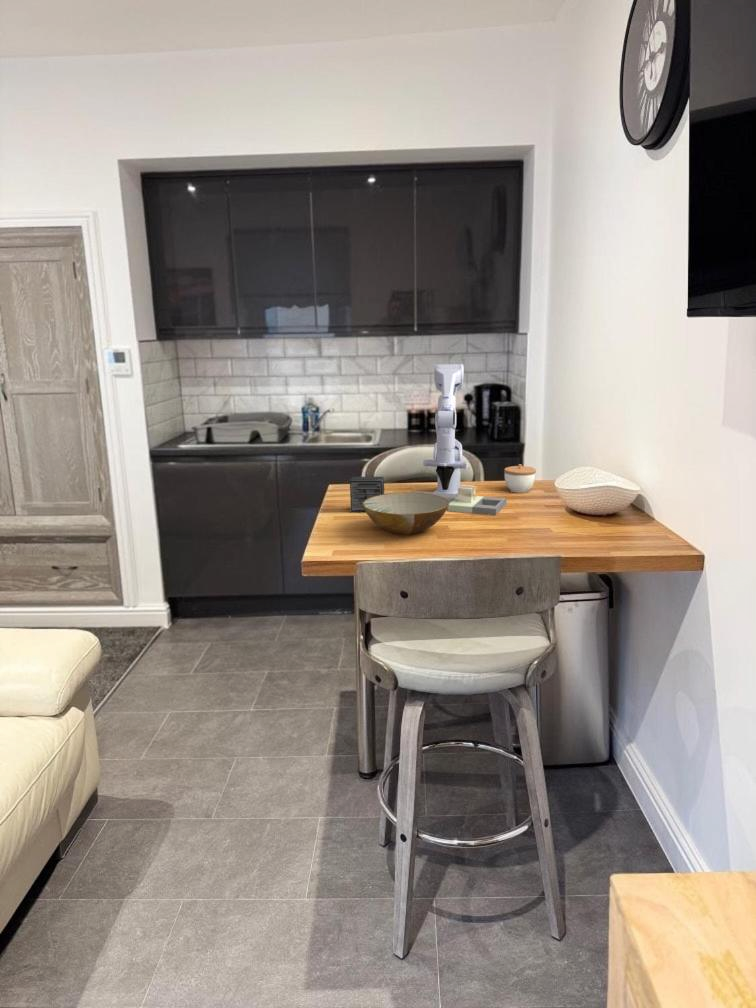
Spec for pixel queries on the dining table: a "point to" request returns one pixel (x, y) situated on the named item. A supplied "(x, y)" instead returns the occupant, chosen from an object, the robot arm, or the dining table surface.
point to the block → (466, 493)
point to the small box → (364, 490)
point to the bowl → (405, 511)
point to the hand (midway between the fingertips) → (445, 489)
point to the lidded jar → (519, 478)
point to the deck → (477, 506)
